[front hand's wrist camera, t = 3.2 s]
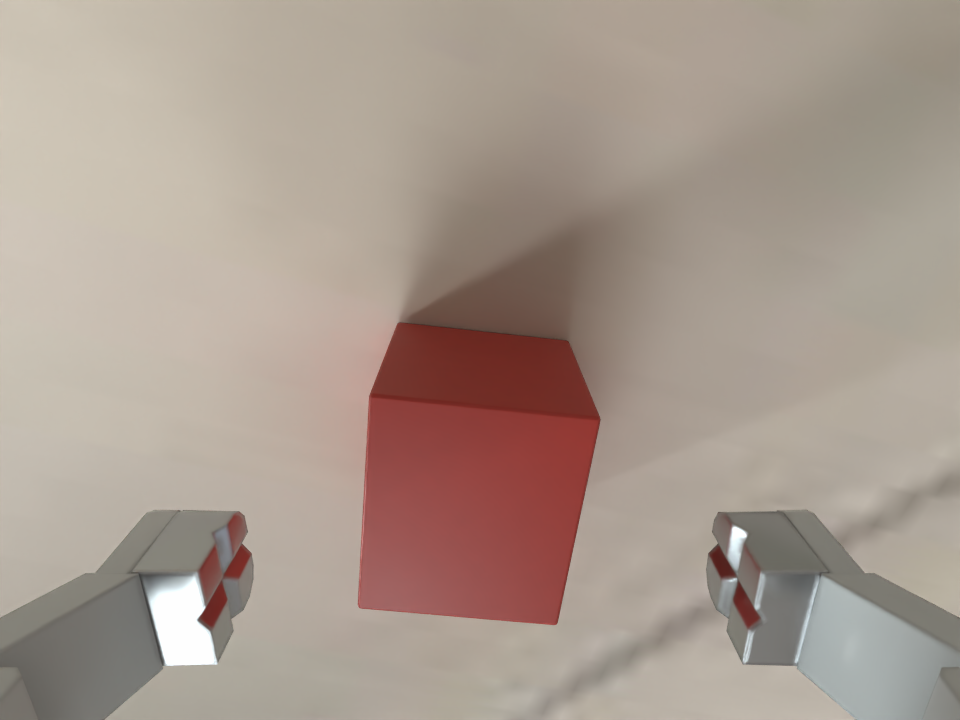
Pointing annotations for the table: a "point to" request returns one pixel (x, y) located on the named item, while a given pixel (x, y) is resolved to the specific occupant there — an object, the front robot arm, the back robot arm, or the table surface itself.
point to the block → (474, 474)
